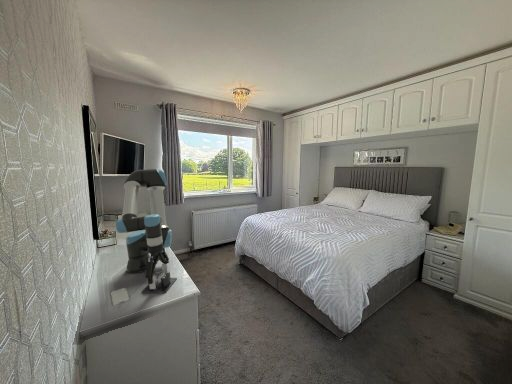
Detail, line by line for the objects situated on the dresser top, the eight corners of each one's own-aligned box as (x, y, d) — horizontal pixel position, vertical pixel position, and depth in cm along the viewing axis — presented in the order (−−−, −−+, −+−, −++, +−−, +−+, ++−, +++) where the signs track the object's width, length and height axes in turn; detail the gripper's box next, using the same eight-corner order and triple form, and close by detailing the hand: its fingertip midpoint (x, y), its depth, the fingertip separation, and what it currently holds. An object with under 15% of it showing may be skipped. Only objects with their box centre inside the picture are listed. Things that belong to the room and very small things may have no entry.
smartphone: (126, 286, 116) (130, 299, 105) (126, 287, 116) (130, 300, 105) (109, 292, 112) (112, 306, 100) (110, 293, 112) (112, 307, 100)
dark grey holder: (141, 292, 110) (140, 282, 109) (155, 279, 123) (153, 269, 122) (165, 292, 109) (164, 282, 108) (176, 279, 122) (175, 269, 121)
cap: (157, 281, 119) (156, 271, 118) (167, 281, 118) (166, 270, 117) (151, 287, 113) (150, 276, 112) (162, 287, 112) (161, 276, 112)
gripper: (160, 236, 125) (164, 269, 128) (133, 254, 101) (138, 295, 104) (172, 235, 125) (176, 269, 128) (148, 253, 100) (153, 295, 103)
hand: (159, 281), depth 116 cm, fingers open, 13 cm apart
